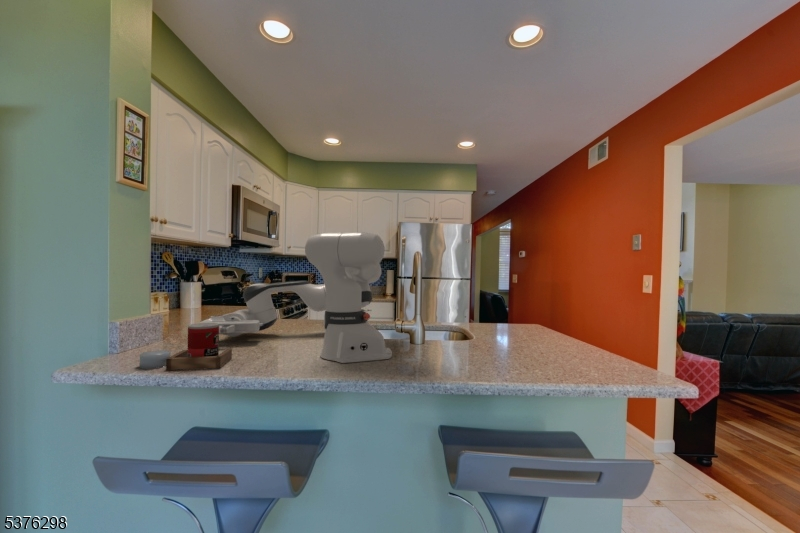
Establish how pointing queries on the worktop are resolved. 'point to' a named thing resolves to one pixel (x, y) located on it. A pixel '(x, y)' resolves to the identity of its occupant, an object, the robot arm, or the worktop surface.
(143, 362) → the grey rounded cylinder
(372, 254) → the robot arm
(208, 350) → the canned food
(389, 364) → the worktop surface
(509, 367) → the worktop surface
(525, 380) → the worktop surface
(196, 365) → the bay
